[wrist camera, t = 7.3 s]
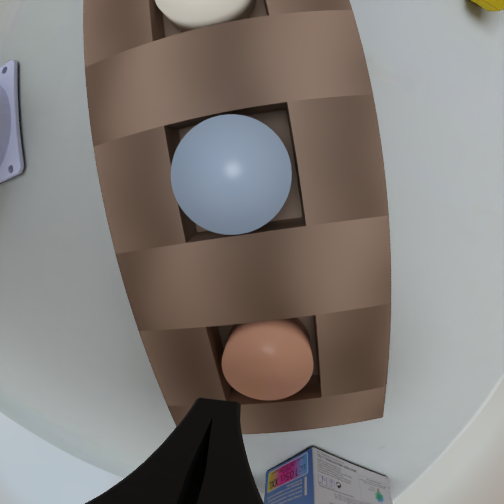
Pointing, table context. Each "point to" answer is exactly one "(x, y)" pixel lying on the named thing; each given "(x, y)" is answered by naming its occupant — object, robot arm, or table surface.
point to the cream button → (204, 12)
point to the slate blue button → (231, 174)
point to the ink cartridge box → (324, 482)
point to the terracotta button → (268, 358)
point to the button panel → (269, 235)
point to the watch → (490, 4)
